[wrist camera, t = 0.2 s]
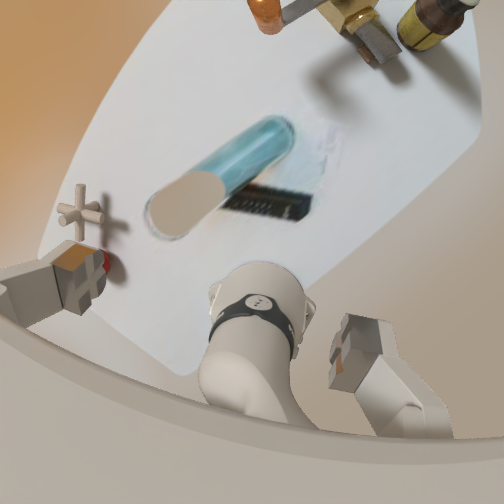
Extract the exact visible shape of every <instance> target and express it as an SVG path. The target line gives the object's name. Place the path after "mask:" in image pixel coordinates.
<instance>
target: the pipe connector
mask: <svg viewBox="0 0 504 504" xmlns="http://www.w3.org/2000/svg"><path fill="white" fill-rule="evenodd" d="M85 190H86V185H85V184H77V185H76V191H75V206H72V205H67V204H63V203H59V204H58V206H57V212H58V213H62V214H64V215H62V216H60V217H59V224H60V225H61V226H62V227H64V226H66V225H68V224H70V223H72V222H74V221H75V241H78V242H81V241H84V220H88V221H92V222H96V223H100V224H102V223H103V222H104V220H105V214H104V213H100V212H96V211H97V210H98V209H99V204H98V202H97V201H93V202H91V203H89V204H86V205H85Z"/></svg>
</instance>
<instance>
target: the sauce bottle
mask: <svg viewBox="0 0 504 504" xmlns="http://www.w3.org/2000/svg"><path fill="white" fill-rule="evenodd" d="M479 1H480V0H416V1H415V2H414V4H413V5H412V6H411V7H410V8H409V10H408V11H407V12H406V13H405V15H404V16H403V17H402V18H401V20H400V22H399V23H398V25H397V35H398V38H399V40H400V42H401V43H402V44H403V45H404V46H405V47H407V48H408V49H410V50H412V51H425V50H427V49H429V48H431V47H433V46H434V45H435V44H437V43H438V42H440V41H441V40H443V39H445V38H446V37H448V36H449V35H451V34H452V33H453V32H454V31H455V30H457V29H458V28H459V27H460V26H461V25H462V23H463V21H464V13H465V11H467V10H469V9H473V8H474V7H475V6H476V5H477V4H478V3H479Z"/></svg>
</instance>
